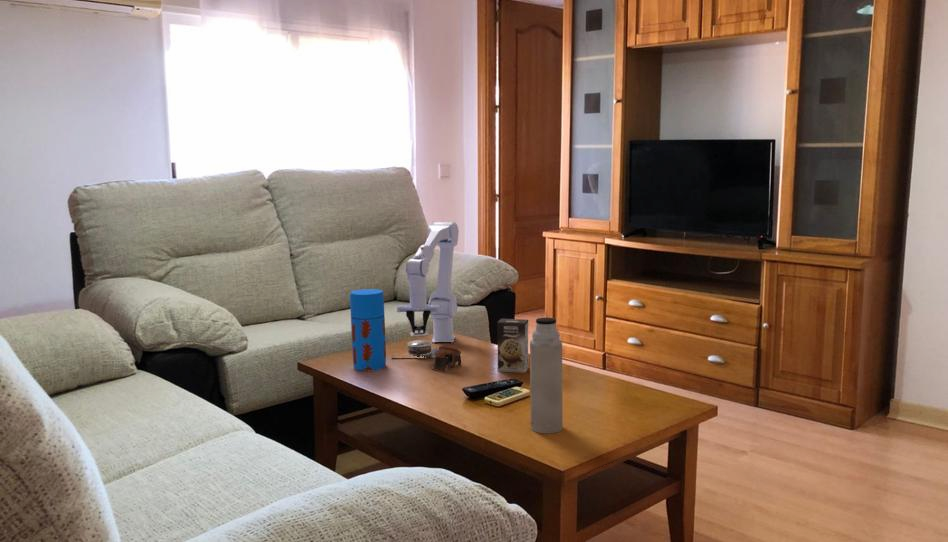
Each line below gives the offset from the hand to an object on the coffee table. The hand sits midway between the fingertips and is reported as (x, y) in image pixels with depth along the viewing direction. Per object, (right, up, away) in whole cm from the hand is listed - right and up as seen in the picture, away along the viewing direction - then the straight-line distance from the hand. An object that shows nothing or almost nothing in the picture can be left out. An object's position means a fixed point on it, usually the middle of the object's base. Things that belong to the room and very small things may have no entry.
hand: (419, 332), depth 272 cm
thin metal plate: (0, -8, +1) cm, 8 cm away
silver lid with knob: (0, -1, 0) cm, 1 cm away
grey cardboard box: (+32, -11, -21) cm, 40 cm away
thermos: (-15, -10, -14) cm, 23 cm away
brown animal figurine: (+11, -11, -18) cm, 24 cm away
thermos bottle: (+37, -18, -75) cm, 86 cm away
